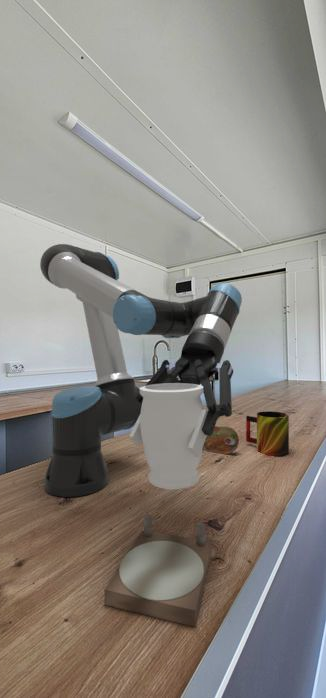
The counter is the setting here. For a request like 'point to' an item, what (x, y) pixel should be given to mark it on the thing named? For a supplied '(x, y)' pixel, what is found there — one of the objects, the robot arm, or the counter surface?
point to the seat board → (162, 576)
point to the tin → (221, 440)
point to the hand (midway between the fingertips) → (162, 446)
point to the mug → (270, 433)
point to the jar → (170, 433)
